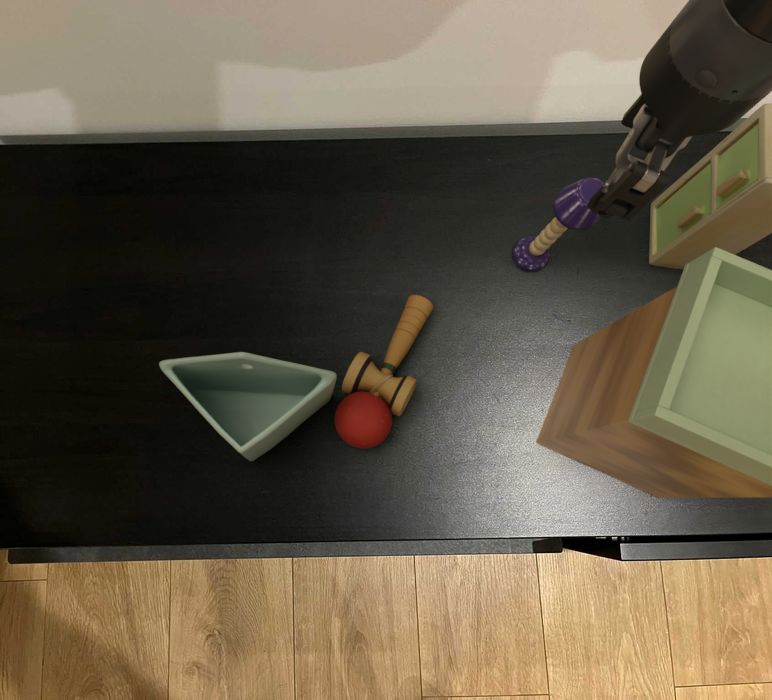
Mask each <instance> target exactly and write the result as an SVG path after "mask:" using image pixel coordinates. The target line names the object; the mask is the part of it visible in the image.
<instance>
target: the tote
mask: <svg viewBox="0 0 772 700" xmlns="http://www.w3.org/2000/svg"><path fill="white" fill-rule="evenodd" d="M676 287H677V289H676V292H675V294H674V297H673V300H672V303H671V305H670V308H669V311H668V314H667V316H666V319H665V322H664V324H663V327H662V330H661V333H660V335H659V338H658V341H657V344H656V346H655V349H654V352H653V354H652V357H651V360H650V363H649V365H648V368H647V371H646V374H645V376H644V379H643V382H642V384H641V387H640V390H639V393H638V395H637V398H636V401H635V404H634V406H633V409H632V412H631V414H630V417H629V420H628V422H629V423H632V424H634V425H636V426H638V427H641V428H643V429H645V430H647V431H650V432H652V433H654V434H656V435H659V436H661V437H663V438H665V439H668V440H670V441H672V442H674V443H676V444H679V445H681V446H683V447H685V448H688V449H690V450H692V451H694V452H697V453H699V454H701V455H703V456H706V457H708V458H710V459H712V460H715V461H717V462H719V463H721V464H724V465H726V466H728V467H730V468H733V469H735V470H737V471H739V472H741V473H744V474H746V475H748V476H750V477H753V478H755V479H757V480H759V481H762V482H764V483H766V484H768V485H771V486H772V269H769V268H768V267H766V266H765V267H764V266H763V265H759V264H758V263H756V262H753V261H751V260H748V259H746V258H743V257H741V256H738V255H737V254H735V255H734V254H731V253H729V252H727V251H724V250H722V249H720V248H717V247H714V248H713V249H711V250H709V251H708V252H706V253H704V254H703V255H701V256H700V257H698V258H696V259H695V260H693V261H691V262H690V263H688V264H686V265H685V267H684V270H682V272H681V276H680V278H679V281H678V284H677V286H676Z"/></svg>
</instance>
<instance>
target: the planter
mask: <svg viewBox="0 0 772 700" xmlns="http://www.w3.org/2000/svg"><path fill="white" fill-rule="evenodd" d="M158 366H159V368H160V370H161V371H162V373H163V374H164V375H165V376H166V377H167V378H168V379H169V380H170V381H171V382H172V383H173V384H174V386H175V387H176V388H177V389H178V390H179V391H180V392H181V393H182V394H183V396H184V397H185V398H186V399H187V400H188V401H189V402H190V403H191V404H192V405H193V407H194V408H195V409H196V410H197V411H198V412H199V414H200V415H201V416H202V417H203V418H204V419H205V420H206V421H207V422H208V423H209V425H210V426H212V428H213V429H214V430H215V431H216V432H217V434H219V435H220V436H221V437H222V438H223V439H224V440H225V441H226V442H227V443H228V444H229V445H231V447H233V449H234V450H236V451H237V453H239V454H240V455H241V456H243V457H244V458H245V459H247V460H248V462H254V461H255V460H257V459H258V458H260V457H261V456H263V455H264V454H266V453H267V452H269V451H270V450H272V449H273V448H275V447H276V446H277V445H278V444H279V443H281V442H282V441H283V440H284V439H285V438H287V437H288V436H289V435H290V434H292V432H294V431H295V430H296V429H297V428H298V427H299V426H301V425H302V424H304V422H305V421H306V420H307V419H309V418H310V417H311V416H313V415H314V414H315V413H316V412H318V411H319V410H320V409H322V408H323V407H324V406H326V405H327V404H328V403H329V402H330V401H331V399H332V397H333V393H334V391H335V386H336V382H337V379H338V377H337V376H338V375H337V373H336V372H335V371H332V370H329V369H323V368H318V367H315V366H311V365H306V364H301V363H296V362H293V361H287V360H282V359H277V358H273V357H269V356H265V355H264V356H263V355H259V354H254V353H251V352H247V351H236V352H228V353H219V354H208V355H199V356H197V355H196V356H188V357H179V358H168V359H163V360H161V361H159V363H158Z"/></svg>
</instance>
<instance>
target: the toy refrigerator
mask: <svg viewBox="0 0 772 700" xmlns="http://www.w3.org/2000/svg"><path fill="white" fill-rule="evenodd" d="M649 210H650V215H649V247H648V248H649V249H648V264H649V265H650V266H653V267H659V268H668V269H675V270H682V271H683V270H684V267H685V265H686V264H688V263H690V262H691V261H693V260H695V259H696V258H698V257H700V256H701V255H703V254H704V253H706V252H708V251H709V250H711V249H713V248H714V247H717V248H720V249H722V250H724V251H727V252H729V253H731V254H734V255H737V254H739V253H740V252H742V251H744V250H746V249H748V248H749V247H750V246H752V245H754V244H756V243H758V242H759V241H761V240H763V239H765V238H766V237H767V236H770V235H771V234H772V103H764V104H762V105H761V106H759V108H757V109H756V110H755V111H754V112H753V113H751V115H750V116H748V117H747V118H746V119H745V120H744V121H743V122H741V123H740V124H739V125H738V126H737V127H736V128H735V129H733V130H732V131H731V132H730V133H729V134H728V135H727V136H725V138H723V140H721V141H720V142H719V143H717V145H716V146H715V147H714V148H712V149H711V150H710V151H708V152H707V154H705V155H704V156H703V157H702V158H700V160H699V161H697V162H696V163H695V164H694V165H692V167H690V168H689V169H688V170H687V171H686V172H685V173H684V174H682V175H681V176H680V177H679V178H678V179H677V180H676V181H674V182H673V183H672V184H671V185H670V186H669V187H668V188H667V189H665V190H664V191H663V192H662V193H661V194H659V196H658V197H656V198H655V199H654V200H653V201H652V202H651V204H650V209H649Z"/></svg>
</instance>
